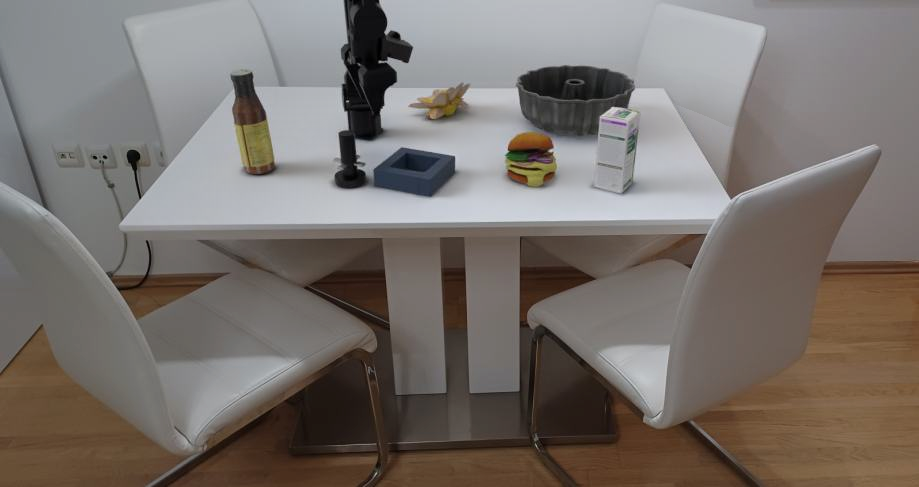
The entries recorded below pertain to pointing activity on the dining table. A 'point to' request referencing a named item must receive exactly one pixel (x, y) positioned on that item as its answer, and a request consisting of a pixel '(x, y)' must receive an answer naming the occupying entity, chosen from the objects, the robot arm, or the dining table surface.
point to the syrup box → (616, 149)
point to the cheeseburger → (531, 159)
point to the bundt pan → (571, 97)
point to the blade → (349, 162)
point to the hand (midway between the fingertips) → (370, 107)
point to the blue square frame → (404, 180)
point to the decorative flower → (443, 101)
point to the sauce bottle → (251, 125)
